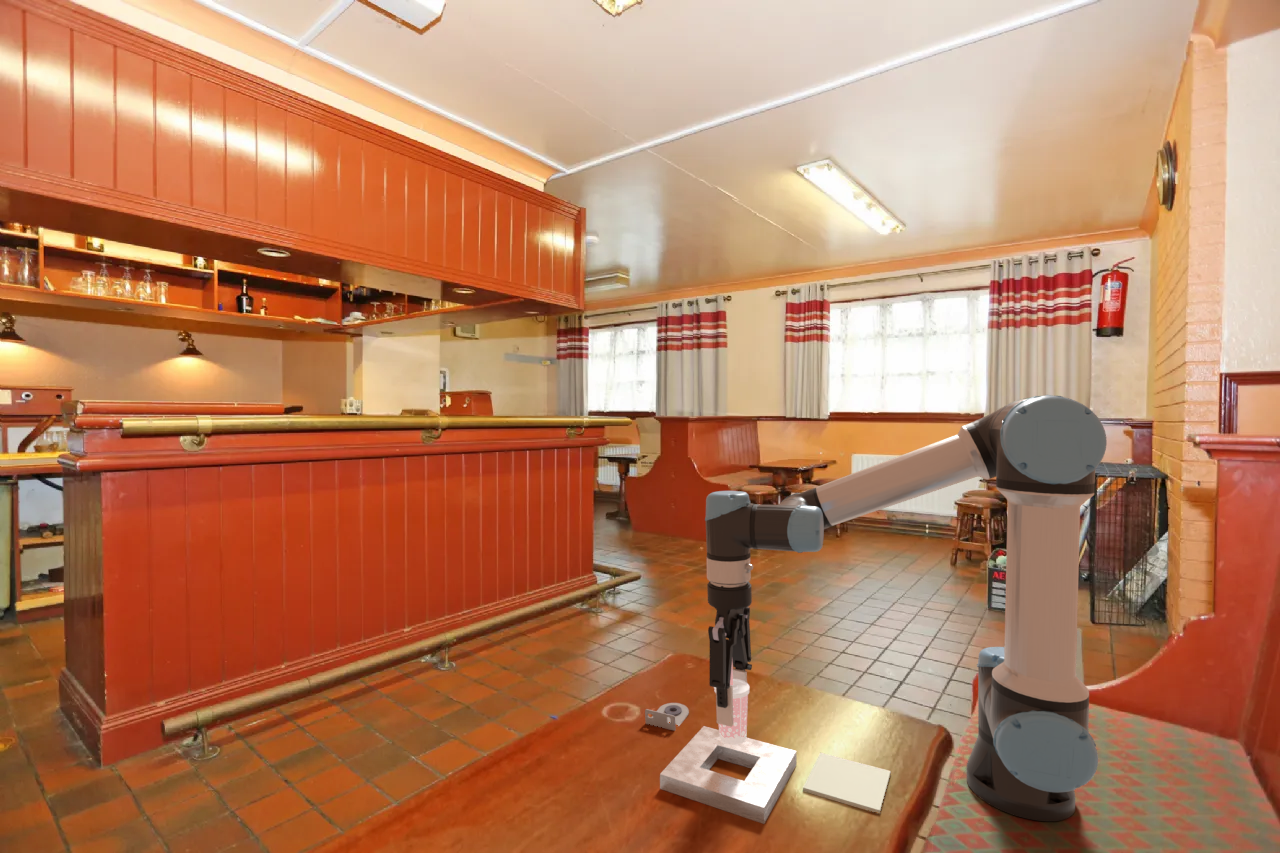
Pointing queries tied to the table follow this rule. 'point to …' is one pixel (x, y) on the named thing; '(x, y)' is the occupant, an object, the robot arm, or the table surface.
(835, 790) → the beige pad
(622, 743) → the table surface
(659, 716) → the bracket
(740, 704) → the beverage cup
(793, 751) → the white square frame
